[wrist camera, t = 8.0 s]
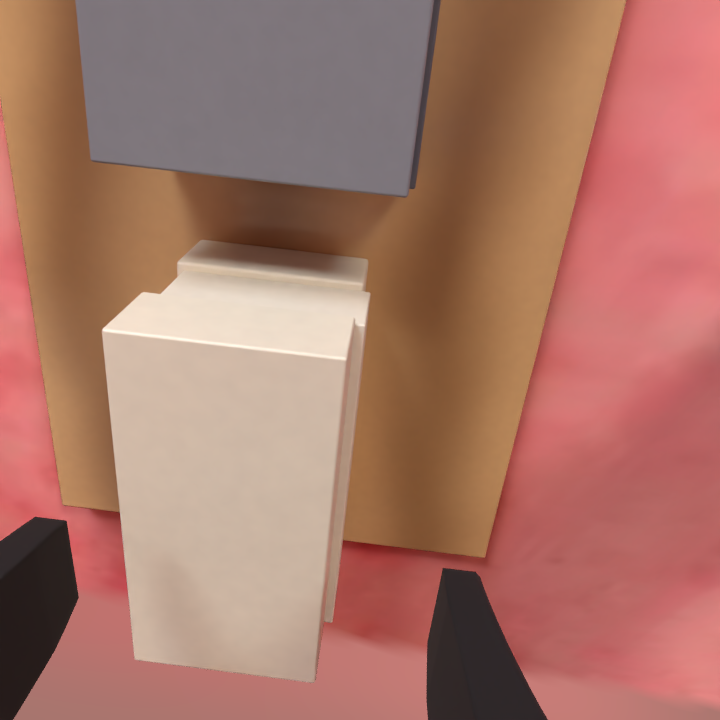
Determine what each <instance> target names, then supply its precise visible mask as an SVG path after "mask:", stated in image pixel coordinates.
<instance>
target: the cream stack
mask: <svg viewBox="0 0 720 720" xmlns="http://www.w3.org/2000/svg"><path fill="white" fill-rule="evenodd" d="M367 271H368V260H367V259H364V258H356V257H347V256H338V255H330V254H321V253H313V252H304V251H296V250H287V249H278V248H270V247H261V246H253V245H244V244H236V243H227V242H218V241H210V240H200V241H199V242H198V243H197V244H196V245H195V246H194V247H193V248H192V249H191V250H190V251H189V252H188V253H186V254H185V255H184V256H183V257H182V258H181V259H180V260H179V261H178V263H177V278H176V279H175V280H174V281H173V282H172V283H171V284H170V285H169V286H168V287H167V288H166V289H165V290H164V291H163V292H162V293H161V294H164V295H173V296H181V297H190V298H198V299H207V300H215V301H224V302H232V303H240V304H249V305H257V306H266V307H274V308H283V309H291V310H299V311H308V312H316V313H325V314H333V315H342V316H350V317H354V318H355V327H354V337H353V347H352V356H351V366H350V376H349V386H348V395H347V405H346V415H345V424H344V434H343V444H342V454H341V463H340V473H339V483H338V493H337V502H336V512H335V522H334V531H333V541H332V551H331V561H330V570H329V580H328V590H327V600H326V609H325V619H324V622H329V623H332V621H333V615H334V608H335V600H336V593H337V585H338V578H339V570H340V561H341V552H342V544H343V535H344V526H345V517H346V508H347V499H348V490H349V481H350V473H351V464H352V455H353V446H354V437H355V428H356V419H357V410H358V402H359V393H360V384H361V375H362V366H363V357H364V348H365V340H366V331H367V322H368V313H369V304H370V295H371V294H370V293H369V292H365V290H366V280H367Z"/></svg>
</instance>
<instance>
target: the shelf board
mask: <svg viewBox="0 0 720 720" xmlns="http://www.w3.org/2000/svg"><path fill="white" fill-rule="evenodd" d="M626 1H627V0H441V4H440V11H439V19H438V26H437V33H436V41H435V48H434V55H433V63H432V70H431V77H430V85H429V92H428V99H427V107H426V114H425V121H424V129H423V136H422V143H421V151H420V158H419V165H418V173H417V180H416V187H415V189H409V195H408V196H407V197H406V198H402V197H394V196H385V195H376V194H367V193H359V192H350V191H341V190H332V189H324V188H315V187H306V186H298V185H289V184H280V183H271V182H263V181H254V180H245V179H237V178H228V177H219V176H210V175H202V174H193V173H184V172H176V171H167V170H158V169H149V168H141V167H132V166H123V165H115V164H106V163H97V162H93V161H91V158H90V148H89V138H88V127H87V117H86V106H85V96H84V85H83V75H82V65H81V54H80V44H79V33H78V23H77V13H76V2H75V0H0V100H1V107H2V113H3V120H4V126H5V133H6V140H7V146H8V153H9V159H10V166H11V172H12V179H13V185H14V192H15V198H16V205H17V211H18V218H19V224H20V231H21V237H22V244H23V251H24V257H25V264H26V270H27V277H28V283H29V290H30V296H31V303H32V309H33V316H34V322H35V329H36V335H37V342H38V348H39V355H40V361H41V368H42V375H43V381H44V388H45V394H46V401H47V407H48V414H49V420H50V427H51V433H52V440H53V446H54V453H55V459H56V466H57V472H58V479H59V486H60V492H61V499H62V504H63V505H65V506H73V507H81V508H89V509H97V510H105V511H112V512H120V508H119V498H118V488H117V478H116V468H115V458H114V448H113V438H112V428H111V418H110V408H109V398H108V388H107V378H106V368H105V358H104V348H103V338H102V329H103V328H104V327H105V326H106V325H107V324H108V323H109V322H111V321H112V320H113V319H114V318H115V317H116V316H117V315H118V314H119V313H120V312H121V311H122V310H124V309H125V308H126V307H127V306H128V305H129V304H130V303H131V302H132V301H133V300H134V299H135V298H136V297H138V296H139V295H140V294H141V293H142V292H148V293H156V294H161V293H162V292H163V291H164V290H165V289H166V288H167V287H168V286H169V285H170V284H171V283H172V282H173V281H174V280H175V279H176V278H177V263H178V261H179V260H180V259H181V258H182V257H183V256H184V255H185V254H186V253H188V252H189V251H190V250H191V249H192V248H193V247H194V246H195V245H196V244H197V243H198V242H199V241H200V240H210V241H218V242H227V243H236V244H244V245H253V246H261V247H270V248H278V249H287V250H296V251H304V252H313V253H321V254H330V255H338V256H347V257H356V258H364V259H367V260H368V271H367V280H366V290H365V292H369V293H370V294H371V295H370V304H369V313H368V322H367V331H366V340H365V348H364V357H363V366H362V375H361V384H360V393H359V402H358V410H357V419H356V428H355V437H354V446H353V455H352V464H351V473H350V481H349V490H348V499H347V508H346V517H345V526H344V535H343V540H344V541H352V542H360V543H368V544H376V545H384V546H392V547H400V548H408V549H416V550H424V551H432V552H440V553H448V554H456V555H464V556H472V557H480V558H484V557H485V555H486V551H487V547H488V543H489V539H490V536H491V532H492V528H493V524H494V520H495V516H496V512H497V508H498V504H499V500H500V496H501V492H502V488H503V484H504V480H505V477H506V473H507V469H508V465H509V461H510V457H511V453H512V449H513V445H514V441H515V437H516V433H517V429H518V425H519V422H520V418H521V414H522V410H523V406H524V402H525V398H526V394H527V390H528V386H529V382H530V378H531V374H532V370H533V366H534V363H535V359H536V355H537V351H538V347H539V343H540V339H541V335H542V331H543V327H544V323H545V319H546V315H547V311H548V307H549V304H550V300H551V296H552V292H553V288H554V284H555V280H556V276H557V272H558V268H559V264H560V260H561V256H562V252H563V249H564V245H565V241H566V237H567V233H568V229H569V225H570V221H571V217H572V213H573V209H574V205H575V201H576V197H577V193H578V190H579V186H580V182H581V178H582V174H583V170H584V166H585V162H586V158H587V154H588V150H589V146H590V142H591V138H592V134H593V131H594V127H595V123H596V119H597V115H598V111H599V107H600V103H601V99H602V95H603V91H604V87H605V83H606V79H607V76H608V72H609V68H610V64H611V60H612V56H613V52H614V48H615V44H616V40H617V36H618V32H619V28H620V24H621V20H622V17H623V13H624V9H625V5H626Z"/></svg>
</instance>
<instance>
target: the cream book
mask: <svg viewBox="0 0 720 720" xmlns="http://www.w3.org/2000/svg"><path fill="white" fill-rule="evenodd" d="M354 327H355V318H354V317H350V316H342V315H333V314H325V313H316V312H308V311H299V310H291V309H283V308H274V307H266V306H257V305H249V304H240V303H232V302H224V301H215V300H207V299H198V298H190V297H181V296H173V295H164V294H156V293H148V292H142V293H141V294H140V295H139V296H138V297H136V298H135V299H134V300H133V301H132V302H131V303H130V304H129V305H128V306H127V307H126V308H125V309H124V310H122V311H121V312H120V313H119V314H118V315H117V316H116V317H115V318H114V319H113V320H112V321H111V322H109V323H108V324H107V325H106V326H105V327H104V328H103V329H102V338H103V348H104V358H105V368H106V378H107V388H108V398H109V408H110V418H111V428H112V438H113V448H114V458H115V468H116V478H117V488H118V498H119V508H120V518H121V528H122V538H123V548H124V558H125V568H126V578H127V588H128V598H129V608H130V618H131V628H132V638H133V648H134V658H135V659H136V660H140V661H149V662H155V663H163V664H172V665H178V666H186V667H194V668H202V669H210V670H217V671H225V672H233V673H240V674H248V675H257V676H264V677H271V678H279V679H287V680H294V681H302V682H310V683H314V682H315V680H316V672H317V666H318V659H319V652H320V646H321V639H322V632H323V626H324V619H325V609H326V600H327V590H328V580H329V570H330V561H331V551H332V541H333V531H334V522H335V512H336V502H337V493H338V483H339V473H340V463H341V454H342V444H343V434H344V424H345V415H346V405H347V395H348V386H349V376H350V366H351V356H352V347H353V337H354Z"/></svg>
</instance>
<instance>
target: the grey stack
mask: <svg viewBox="0 0 720 720" xmlns="http://www.w3.org/2000/svg"><path fill="white" fill-rule="evenodd" d="M75 2H76V13H77V23H78V33H79V44H80V54H81V65H82V75H83V85H84V96H85V106H86V117H87V127H88V138H89V148H90V158H91V161H93V162H97V163H106V164H115V165H123V166H132V167H141V168H149V169H158V170H167V171H176V172H184V173H193V174H202V175H210V176H219V177H228V178H237V179H245V180H254V181H263V182H271V183H280V184H289V185H298V186H306V187H315V188H324V189H332V190H341V191H350V192H359V193H367V194H376V195H385V196H394V197H402V198H406V197H407V196H408V195H409V189H415V187H416V180H417V173H418V165H419V158H420V151H421V143H422V136H423V129H424V121H425V114H426V107H427V99H428V92H429V85H430V77H431V70H432V63H433V55H434V48H435V41H436V33H437V26H438V19H439V11H440V4H441V0H75Z"/></svg>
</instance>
